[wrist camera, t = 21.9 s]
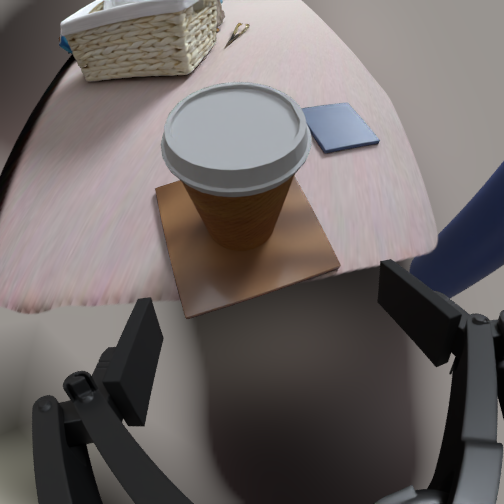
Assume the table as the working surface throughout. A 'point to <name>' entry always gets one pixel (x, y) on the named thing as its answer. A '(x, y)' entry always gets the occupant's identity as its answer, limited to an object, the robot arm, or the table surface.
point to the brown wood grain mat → (240, 253)
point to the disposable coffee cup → (237, 157)
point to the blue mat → (338, 127)
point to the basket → (141, 37)
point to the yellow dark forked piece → (236, 32)
